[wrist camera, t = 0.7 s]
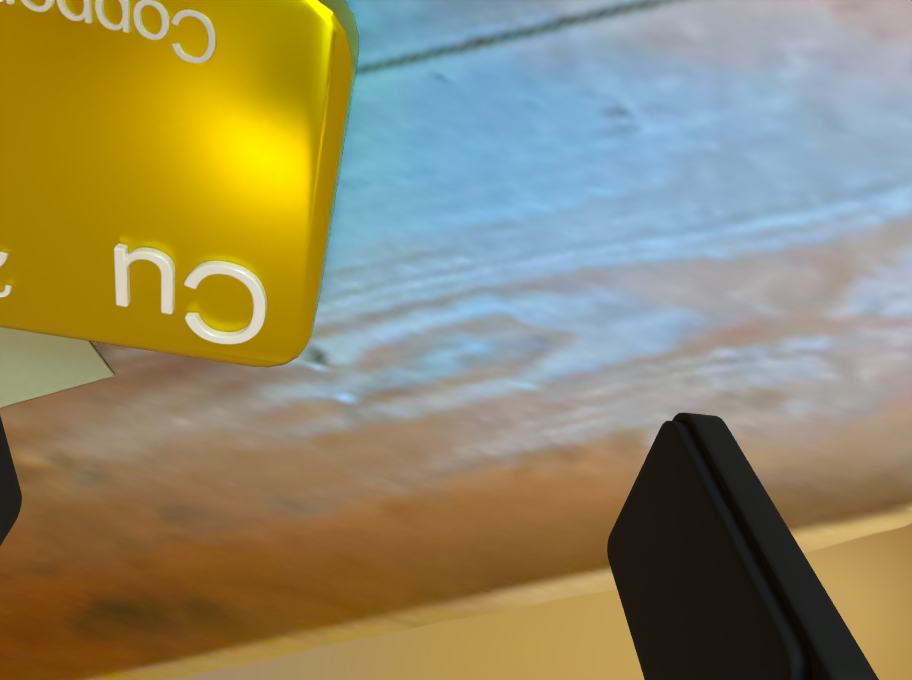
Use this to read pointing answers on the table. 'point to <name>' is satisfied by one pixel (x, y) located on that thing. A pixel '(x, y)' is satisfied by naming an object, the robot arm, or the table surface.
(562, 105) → the table surface
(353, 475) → the table surface
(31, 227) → the element tile
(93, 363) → the mat
